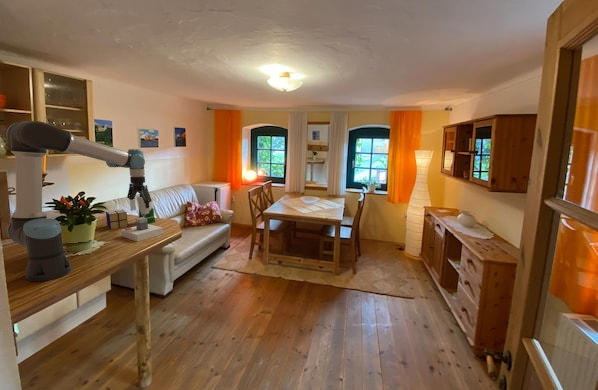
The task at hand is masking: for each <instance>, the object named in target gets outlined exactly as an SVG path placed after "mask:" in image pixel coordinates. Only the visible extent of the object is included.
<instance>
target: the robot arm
mask: <svg viewBox="0 0 598 390" xmlns="http://www.w3.org/2000/svg"><path fill="white" fill-rule="evenodd" d="M5 136H6V139H7V141H8V142H9V144H10V153H12V154H13V155H14V156H15V212H14V213H12V214H11V215H10V222H9V224H8V225H7V229H6V234H7V236H8V238H9V239H10V240H11V241H13V242H14V243H16V244H18V245H22V246H24V247H25V248H26V252H27V257H28V262H27V265H26V270H25V279H27V280H26V281H28V282H32V281H39V282H45V281H50V280H51V281H52V280H55V279H57V278H61V277H63V276H66V275H67V274H68V273H70V272H71V271H72V266H71V262H70V260H69V259H68V258H67V256H66V255H65V251H64V245H63V244H64V243H63V237H62V227H61V225H60V221H58V220H57V219H55V218H48V217H47V213H45V212H44V211H43V158H44V157H45V156H46V155H47V154H48V153H47V151H53V152H54V151H56V152H59V153H65V152H69V153H72V154H76V155H81V156H83V157H87V158H90V159H91V158H92V159H94V160H95V159H96V160H98V161H103V162H105V163H106V166H108V168H125V169H127V168H128V169H129V176H130V177H129V179H130V182H129V187H128V192H127V196H126V198H127V199H129V203H130V204H129V206H130V211H131V212H133V211H137V209H136V207H137V205H136V196H137V193H138V194H139V196H140V195H141V196H142V198H143V200H144V214H148V213H149V202H151V201H152V200H151V197H150V196H151V195H150V192H149V189H148V185H147V184H145V183H146V176H145V174H146V173H145V164H146V161H145V156H144V151H143V150H142V149H141V148H129V149H128V151H125V150H122V149H119V148H116V147H113V146H109V145H106V144H103V143H100V142H96V141H93V140H90V139H86V138H84V137H80V136H77V135H74V134H73V133H71V132H70V131H69V130H66V129H63V128H61V127H57V126H54V125H52V124H49V123H46V122H44V121H40V120H19V121H17V122H13V123H12V124H11V125H9V127H8V128H7V130H6V135H5ZM144 184H145V185H144Z"/></svg>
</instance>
